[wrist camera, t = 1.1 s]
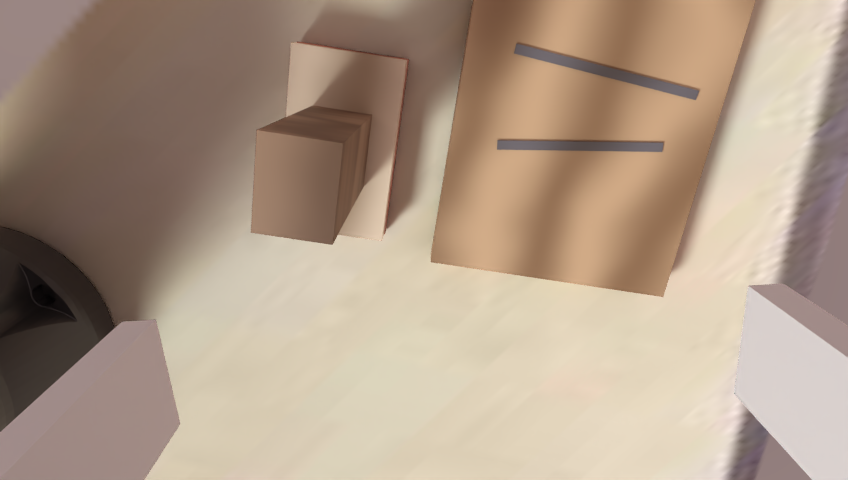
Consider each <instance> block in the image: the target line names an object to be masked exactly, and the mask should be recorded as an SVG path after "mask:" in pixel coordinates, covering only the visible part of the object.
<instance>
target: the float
mask: <svg viewBox="0 0 848 480" xmlns="http://www.w3.org/2000/svg"><path fill="white" fill-rule="evenodd" d="M408 63H409V59H405V58H399V57H392V56H386V55H380V54H373V53H367V52H361V51H355V50H348V49H342V48H336V47H329V46H323V45H317V44H311V43H304V42H297V43H294V42H291V49H290V63H289V77H288V91H287V105H286V117H285V118H283V119H281V120H278V121H276V122H274V123H272V124H269V125H267V126H265V127H263V128H260V129H258V130H257V133H256V151H255V169H254V186H253V204H252V222H251V233H258V234H264V235H271V236H278V237H284V238H291V239H298V240H304V241H311V242H318V243H324V244H331V245H333V243H334V241H335V239H336V237H337V235H344V236H351V237H358V238H364V239H371V240H378V241H382V239H383V235H384V234H385V232H386V225H387V218H388V210H389V203H390V196H391V188H392V181H393V174H394V166H395V159H396V152H397V144H398V137H399V130H400V122H401V115H402V108H403V100H404V93H405V86H406V78H407V71H408Z"/></svg>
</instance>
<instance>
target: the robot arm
mask: <svg viewBox="0 0 848 480" xmlns="http://www.w3.org/2000/svg"><path fill="white" fill-rule="evenodd" d="M734 394H735V395H736V396H737V398H738V399H739V400H740V401H741V402H742V403H743V404H744V405H745V406H746V407H747V409H748V410H749V411H750V412H751V413H752V414H753V415H754V416H755V417H756V418H757V420H758V421H759V422H760V423H761V424H762V425H763V426H764V427H765V428H766V429H767V431H768V432H769V433H770V434H771V435H772V436H773V437H774V438H775V439H776V440H777V441H778V442H779V444H780V445H781V446H782V447H783V448H784V449H785V450H786V451H787V453H789V455H790V456H791V457H792V458H793V459H794V460H795V461H796V462H797V464H798V465H799V466H800V467H801V468H802V469H803V470H804V471H805V472H806V473H807V475H808V476H809V477H810V478H811V479H812V480H848V325H846V324H845V323H843V322H842V321H840V320H839V319H837V318H836V317H834V316H833V315H831V314H829V313H828V312H826V311H825V310H823V309H822V308H820V307H818V306H817V305H815V304H814V303H812V302H811V301H809V300H808V299H806V298H805V297H803V296H802V295H800V294H798V293H797V292H795V291H794V290H792V289H791V288H789V287H788V286H786V285H785V284H769V285H752V286H748V291H747V298H746V306H745V313H744V321H743V329H742V336H741V344H740V351H739V359H738V366H737V374H736V381H735V389H734ZM179 425H180V420H179V416H178V412H177V408H176V403H175V399H174V395H173V390H172V386H171V382H170V378H169V373H168V369H167V365H166V361H165V356H164V352H163V348H162V343H161V339H160V335H159V331H158V326H157V322H156V320H140V321H123V322H121V323H120V324H119V325H118V326H116V327H115V328H114V326H113V323H112V320H111V317H110V315H109V312H108V310H107V308H106V306H105V304H104V302H103V300H102V299H101V297H100V295H99V294H98V292H97V291H96V289H95V288H94V287H93V285H92V284H91V283H90V281H89V280H88V279H87V278H86V277H85V276H84V274H83V273H82V272H81V271H80V270H79V269H78V268H77V267H76V266H75V265H73V264H72V263H71V262H70V261H69V260H68V259H66V258H65V257H64V256H63V255H61V254H60V253H58V252H57V251H56V250H54V249H53V248H51V247H49V246H48V245H46V244H44V243H42V242H40V241H39V240H37V239H35V238H32V237H30V236H28V235H25V234H23V233H20V232H17V231H14V230H11V229H7V228H3V227H0V480H144V479H145V478H146V476H147V475H148V473H149V472H150V470H151V469H152V467H153V465H154V464H155V462H156V461H157V459H158V458H159V456H160V455H161V453H162V451H163V450H164V448H165V447H166V445H167V444H168V442H169V441H170V439H171V437H172V436H173V434H174V433H175V431H176V430H177V428H178V427H179Z"/></svg>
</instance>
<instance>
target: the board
mask: <svg viewBox="0 0 848 480" xmlns="http://www.w3.org/2000/svg"><path fill="white" fill-rule="evenodd" d="M755 1H756V0H473V3H472V9H471V15H470V21H469V27H468V33H467V39H466V45H465V51H464V57H463V63H462V69H461V75H460V81H459V87H458V93H457V100H456V106H455V112H454V118H453V124H452V130H451V136H450V142H449V148H448V154H447V160H446V166H445V172H444V178H443V184H442V190H441V196H440V202H439V208H438V215H437V221H436V227H435V233H434V239H433V245H432V251H431V262H434V263H441V264H447V265H454V266H461V267H467V268H474V269H481V270H487V271H494V272H501V273H507V274H514V275H521V276H527V277H534V278H541V279H547V280H554V281H561V282H567V283H574V284H581V285H587V286H594V287H601V288H607V289H614V290H621V291H627V292H634V293H641V294H647V295H654V296H661V297H663V296H664V292H665V289H666V286H667V283H668V280H669V276H670V273H671V270H672V267H673V264H674V260H675V257H676V254H677V251H678V248H679V244H680V241H681V238H682V235H683V232H684V228H685V225H686V222H687V219H688V216H689V212H690V209H691V206H692V203H693V200H694V196H695V193H696V190H697V187H698V184H699V180H700V177H701V174H702V171H703V168H704V164H705V161H706V158H707V155H708V152H709V148H710V145H711V142H712V139H713V136H714V132H715V129H716V126H717V123H718V120H719V116H720V113H721V110H722V107H723V104H724V100H725V97H726V94H727V91H728V88H729V84H730V81H731V78H732V75H733V72H734V68H735V65H736V62H737V59H738V56H739V52H740V49H741V46H742V43H743V40H744V36H745V33H746V30H747V27H748V24H749V20H750V17H751V14H752V11H753V8H754V4H755Z"/></svg>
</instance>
